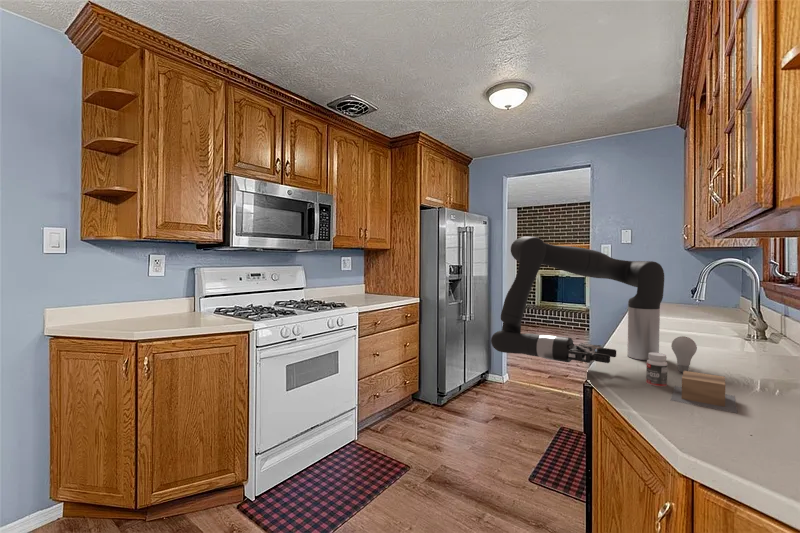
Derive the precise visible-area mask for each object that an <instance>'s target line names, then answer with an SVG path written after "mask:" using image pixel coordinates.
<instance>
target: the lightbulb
mask: <svg viewBox="0 0 800 533" xmlns="http://www.w3.org/2000/svg"><path fill="white" fill-rule="evenodd" d="M671 350H672V352H673V354H674V355H675V358H676V363H677V366H678V367H677V369H678V371H679V372H680V373H681V374H683V372H684V371H690V366H691V362H692V359H693V357H694V355H695V354H696V353H697V350H698V346H697V344H696V342H695V341H694V340H693V339H692V338H691V337H688V336H683V335H681V336H677V337H675V338H674V339H673V340H672V342H671Z"/></svg>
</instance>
